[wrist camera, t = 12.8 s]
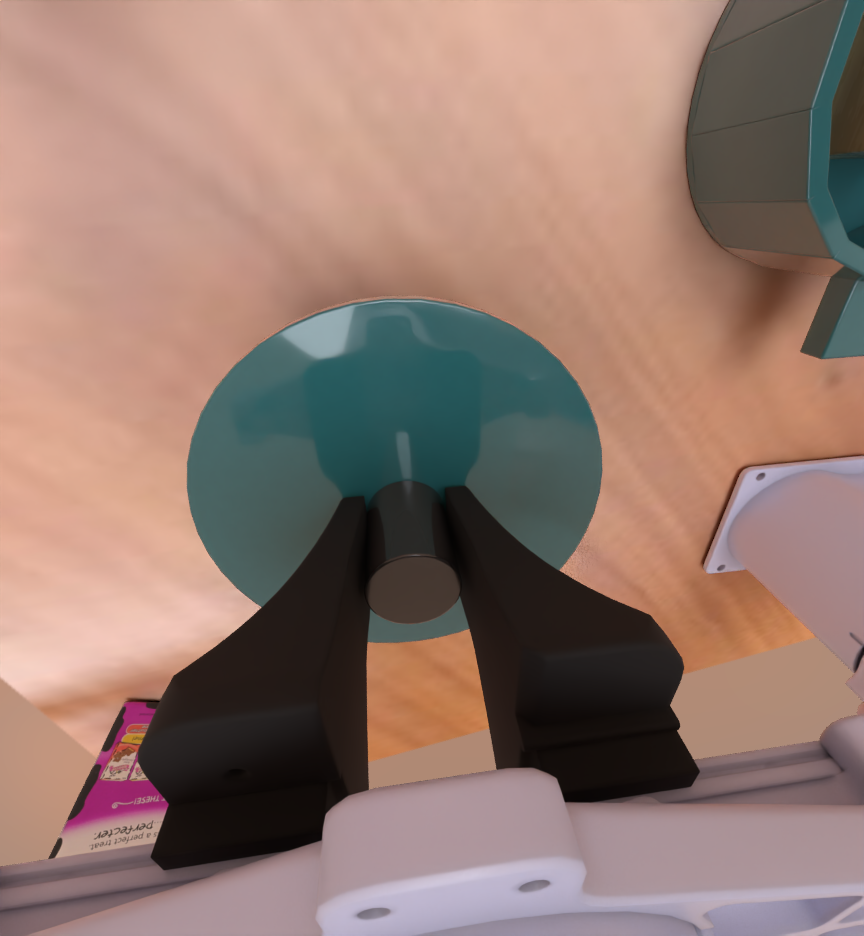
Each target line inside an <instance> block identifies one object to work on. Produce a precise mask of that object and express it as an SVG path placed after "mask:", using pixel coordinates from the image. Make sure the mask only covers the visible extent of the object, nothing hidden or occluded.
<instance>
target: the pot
mask: <svg viewBox="0 0 864 936" xmlns="http://www.w3.org/2000/svg"><path fill="white" fill-rule="evenodd" d="M863 13H864V0H730V2H729V3H728V5H727V7H726V9H725V11H724V12H723V14H722V17H721V19H720V21H719V23H718V25H717V28H716V30H715V32H714V34H713V37H712V39H711V41H710V43H709V46H708V49H707V52H706V55H705V57H704V60H703V63H702V66H701V69H700V72H699V75H698V79H697V83H696V87H695V91H694V94H693V98H692V104H691V110H690V116H689V122H688V132H687V146H686V155H687V174H688V180H689V186H690V192H691V195H692V199H693V202H694V205H695V209H696V211H697V213H698V215H699V217H700V219H701V221H702V223H703V225H704V227H705V228H706V229H707V231H708V232H709V234H710V235H711V236H712V238H713V239H714V240H715V241H716V242H717V243H718V244H719V245H720V246H721V247H723V248H724V249H725V250H727V251H728V252H730V253H732V254H733V255H735V256H737V257H739V258H742V259H744V260H747V261H750V262H754V263H756V264H757V265H759V266H763V267H769V268H775V269H782V270H789V271H795V272H802V273H809V274H815V275H822V276H829V277H831V278H830V280H829V283H828V285H827V288H826V290H825V293H824V295H823V297H822V300H821V302H820V305H819V307H818V309H817V312H816V314H815V317H814V319H813V321H812V324H811V326H810V329H809V331H808V333H807V336H806V338H805V341H804V343H803V345H802V348H801V350H800V352H801V353H804V354H807V355H810V356H813V357H816V358H819V359H831V358H844V357H857V356H864V158H855V159H829V157H830V139H831V122H832V104H833V99H834V96H835V94H836V91H837V88H838V85H839V82H840V79H841V76H842V73H843V71H844V68H845V65H846V62H847V59H848V56H849V53H850V50H851V48H852V45H853V42H854V39H855V36H856V33H857V30H858V28H859V25H860V22H861V19H862V16H863Z"/></svg>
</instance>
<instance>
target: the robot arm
mask: <svg viewBox="0 0 864 936" xmlns="http://www.w3.org/2000/svg"><path fill="white" fill-rule="evenodd" d="M445 500H446V515H447V519H448V523H449V528H450V532H451V536H452V540H453V545H454V549H455V553H456V558H457V562H458V566H459V570H460V575H461V579H462V590H461V594H460V599H461V602H462V605H463V609H464V612H465V616H466V619H467V622H468V626H469V629H470V632H471V636H472V640H473V644H474V648H475V653H476V658H477V664H478V669H479V674H480V679H481V685H482V690H483V695H484V701H485V706H486V711H487V717H488V723H489V728H490V734H491V739H492V745H493V751H494V757H495V763H496V769H497V770H492V771H485V772H479V773H472V774H465V775H459V776H453V777H446V778H439V779H433V780H425V781H419V782H412V783H406V784H400V785H393V786H385V787H379V788H374V789H370V790H369V782H368V741H367V670H366V660H367V642H368V631H369V620H370V607H369V606H368V604H367V602H366V600H365V596H364V576H365V547H366V529H367V511H366V504H365V498H364V496H356V497H346V498H343V499H342V500H341V501H340V503H339V505H338V507H337V509H336V511H335V512H334V514H333V516H332V518H331V520H330V521H329V523H328V525H327V526H326V528H325V530H324V531H323V533H322V534H321V536H320V537H319V539H318V541H317V542H316V544H315V545H314V547H313V548H312V549H311V551H310V552H309V554H308V555H307V556H306V558H305V559H304V560H303V562H302V563H301V564H300V566H299V567H298V568H297V570H296V571H295V572H294V573H293V574H292V576H291V577H290V578H289V579H288V580H287V581H286V583H285V584H284V585H283V586H282V587H281V588H280V589H279V590H278V592H277V593H276V594H275V595H274V596H273V597H272V598H271V599H270V600H269V601H268V602H267V603H266V604H265V605H264V606H263V607H262V608H261V609H260V610H258V611H257V612H256V613H255V614H254V615H253V616H252V617H251V618H250V619H249V620H248V621H246V622H245V623H244V624H243V625H242V626H241V627H239V628H238V629H237V630H236V631H235V632H233V633H232V634H231V635H230V636H228V637H227V638H226V639H225V640H223V641H222V642H221V643H219V644H218V645H217V646H216V647H214V648H213V649H212V650H210V651H209V652H207V653H206V654H204V655H203V656H202V657H200V658H199V659H197V660H196V661H195V662H193V663H192V664H190V665H189V666H188V667H186V668H185V669H183V670H182V671H180V672H179V673H177V674H176V675H174V676H173V678H172V680H171V682H170V684H169V686H168V687H167V689H166V691H165V693H164V694H163V696H162V698H161V700H160V702H159V704H158V706H157V708H156V711H155V713H154V715H153V717H152V720H151V722H150V724H149V727H148V729H147V731H146V734H145V736H144V738H143V740H142V743H141V745H140V747H139V750H138V760H137V762H138V764H139V765H140V767H141V769H142V771H143V773H144V775H145V776H146V777H147V778H148V780H149V781H150V782H151V783H152V784H153V786H154V787H155V788H156V789H157V791H158V792H159V793H160V794H161V795H162V797H163V798H164V799H165V800H166V801H167V803H168V804H169V805H168V807H167V810H166V813H165V816H164V819H163V822H162V825H161V828H160V830H159V833H158V836H157V839H156V842H155V843H150V844H143V845H137V846H130V847H124V848H117V849H111V850H104V851H98V852H91V853H85V854H78V855H72V856H65V857H59V858H52V859H46V860H39V861H33V862H27V863H20V864H14V865H7V866H1V867H0V936H864V456H854V457H844V458H834V459H823V460H813V461H803V462H793V463H783V464H773V465H763V466H752V467H748V468H746V469H744V470H743V471H742V472H741V473H740V475H739V478H738V480H737V483H736V485H735V488H734V490H733V493H732V495H731V498H730V500H729V503H728V505H727V508H726V510H725V513H724V515H723V518H722V520H721V523H720V525H719V528H718V530H717V533H716V535H715V538H714V540H713V542H712V545H711V547H710V550H709V552H708V555H707V557H706V560H705V562H704V565H703V569H704V570H705V571H706V572H707V573H708V574H713V573H722V572H730V571H739V570H748V571H749V572H750V573H751V574H752V575H753V576H754V577H755V578H756V579H757V580H758V581H759V582H760V583H761V584H762V585H763V586H764V587H765V588H766V589H767V590H768V591H770V592H771V593H772V594H773V595H774V596H775V597H776V598H777V599H778V600H779V601H780V602H781V603H782V604H783V605H784V606H785V607H786V608H787V609H788V610H789V611H790V612H791V613H792V614H793V615H794V616H795V617H796V618H797V619H798V620H799V621H800V622H802V623H803V624H804V625H805V626H806V627H807V628H808V629H809V630H810V631H811V632H812V633H813V634H814V635H815V636H816V637H817V638H818V639H819V640H820V641H821V642H822V643H823V644H824V645H825V646H826V647H827V648H828V649H829V650H830V651H831V652H833V653H834V654H835V655H836V656H837V657H838V658H839V659H840V660H841V661H842V662H843V663H844V664H845V665H846V666H847V667H848V668H849V669H850V670H851V671H852V672H853V673H854V675H853V676H852V677H851V678H849V679H848V680H847V681H846V683H845V684H846V685H847V686H848V687H849V688H850V689H851V690H852V691H853V692H854V693H855V694H856V695H857V696H858V697H859V698H860V699H861V700H862V701H863V702H862V703H861V704H860V705H859V707H858V711H857V714H858V715H854V716H849V717H845V718H841V719H839V720H837V721H835V722H833V723H831V724H830V725H829V726H828V727H827V728H826V729H825V730H824V731H823V733H822V734H821V736H820V740H819V741H813V742H807V743H800V744H793V745H787V746H780V747H774V748H768V749H762V750H754V751H748V752H742V753H735V754H728V755H722V756H716V757H709V758H703V759H696V760H693V759H692V756H691V754H690V753H689V751H688V749H687V748H686V746H685V744H684V742H683V741H682V739H681V737H680V735H679V734H678V732H677V730H678V729H679V728H680V723H679V720H678V718H677V717H676V715H675V713H674V712H673V710H672V708H671V707H670V704H671V702H672V699H673V697H674V695H675V693H676V690H677V688H678V686H679V684H680V681H681V678H682V674H683V670H684V664H683V660H682V657H681V656H680V654H679V653H678V651H677V650H676V648H675V647H674V645H673V644H672V642H671V641H670V640H669V638H668V637H667V635H666V634H665V633H664V631H663V630H662V629H661V628H660V627H659V625H658V624H657V623H656V622H655V620H654V619H653V618H652V617H651V615H649V614H646V613H644V612H642V611H639V610H637V609H634V608H632V607H630V606H627V605H625V604H622V603H620V602H618V601H615V600H613V599H611V598H609V597H606V596H604V595H602V594H600V593H598V592H596V591H594V590H592V589H590V588H588V587H587V586H585V585H583V584H581V583H579V582H577V581H576V580H574V579H572V578H571V577H569V576H567V575H566V574H564V573H562V572H561V571H559V570H557V569H556V568H554V567H553V566H551V565H550V564H548V563H547V562H545V561H544V560H542V559H541V558H540V557H538V556H537V555H536V554H534V553H533V552H532V551H530V550H529V549H528V548H527V547H525V546H524V545H523V544H522V543H521V542H519V541H518V540H517V539H516V538H515V537H514V536H513V535H511V534H510V533H509V532H508V531H507V530H506V529H505V528H504V527H503V526H502V525H501V524H500V523H499V522H498V521H497V520H496V519H495V518H494V517H493V516H492V515H491V514H490V513H489V512H488V511H487V510H486V508H485V507H484V506H483V505H482V504H481V503H480V502H479V500H478V499H477V498H476V497H475V496H474V494H473V493H472V492H471V491H470V489H469V488H468V487H466V486H457V487H447V488H445Z"/></svg>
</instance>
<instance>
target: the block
mask: <svg viewBox="0 0 864 936" xmlns="http://www.w3.org/2000/svg"><path fill="white" fill-rule="evenodd" d="M855 158H864V13H863V16H862V19H861V22H860V25H859V28H858V30H857V33H856V36H855V39H854V42H853V45H852V48H851V50H850V53H849V56H848V59H847V62H846V65H845V68H844V71H843V73H842V76H841V79H840V82H839V85H838V88H837V91H836V94H835V96H834V99H833V104H832V122H831V139H830V157H829V159H855Z"/></svg>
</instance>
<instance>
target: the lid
mask: <svg viewBox="0 0 864 936" xmlns="http://www.w3.org/2000/svg"><path fill="white" fill-rule="evenodd" d="M601 477H602V448H601V443H600V437H599V432H598V427H597V424H596V421H595V418H594V415H593V413H592V410H591V407H590V404H589V402H588V400H587V399H586V397H585V395H584V393H583V392H582V390H581V388H580V386H579V385H578V383H577V381H576V380H575V379H574V377H573V376H572V375H571V374H570V372H569V371H568V370H567V369H566V367H565V366H564V365H563V364H562V363H561V361H560V360H559V359H558V358H556V357H555V356H554V355H553V354H552V353H551V352H550V351H549V350H548V349H547V348H545V347H544V346H543V345H542V344H541V343H540V342H539V341H537V340H536V339H535V338H534V337H532V336H531V335H529V334H527V333H526V332H524V331H523V330H521V329H520V328H518V327H517V326H515V325H514V324H512V323H511V322H509V321H507V320H504V319H502V318H500V317H498V316H496V315H493V314H491V313H489V312H487V311H485V310H483V309H479V308H476V307H472V306H469V305H466V304H462V303H459V302H455V301H452V300H445V299H438V298H432V297H425V296H379V297H371V298H364V299H356V300H351V301H347V302H343V303H340V304H336V305H333V306H329V307H326V308H322V309H319V310H317V311H314V312H312V313H310V314H308V315H305V316H303V317H301V318H299V319H296V320H294V321H292V322H290V323H288V324H286V325H285V326H283V327H282V328H280V329H278V330H277V331H275V332H274V333H272V334H271V335H269V336H267V337H266V338H264V339H263V340H261V341H260V342H259V343H258V344H257V345H256V346H255V347H253V348H252V349H251V350H250V351H249V352H248V353H247V354H245V355H244V356H243V357H242V358H241V359H240V360H239V361H238V362H237V363H236V364H235V365H234V366H233V367H232V369H231V370H230V371H229V372H228V373H227V375H226V376H225V377H224V378H223V379H222V381H221V382H220V383H219V384H218V386H217V387H216V388H215V390H214V391H213V393H212V395H211V396H210V398H209V400H208V402H207V403H206V405H205V407H204V408H203V410H202V412H201V414H200V417H199V420H198V422H197V425H196V428H195V430H194V433H193V436H192V439H191V444H190V450H189V455H188V461H187V492H188V498H189V504H190V510H191V514H192V517H193V520H194V523H195V526H196V529H197V532H198V535H199V536H200V538H201V540H202V542H203V544H204V546H205V548H206V550H207V552H208V554H209V555H210V557H211V558H212V559H213V561H214V562H215V564H216V565H217V566H218V568H219V569H220V570H221V572H222V573H223V574H224V575H225V576H226V577H227V578H228V579H229V580H230V581H231V582H232V584H233V585H234V586H235V587H236V588H237V589H239V590H240V591H241V592H242V593H243V594H245V595H246V596H247V597H248V598H249V599H251V600H252V601H253V602H255V603H256V604H258V605H259V606H261V607H263V606H264V605H265V604H266V603H267V602H268V601H269V600H270V599H271V598H272V597H273V596H274V595H275V594H276V593H277V592H278V590H279V589H280V588H281V587H282V586H283V585H284V584H285V583H286V581H287V580H288V579H289V578H290V577H291V576H292V574H293V573H294V572H295V571H296V570H297V568H298V567H299V566H300V564H301V563H302V562H303V560H304V559H305V558H306V556H307V555H308V554H309V552H310V551H311V549H312V548H313V547H314V545H315V544H316V542H317V541H318V539H319V537H320V536H321V534H322V533H323V531H324V530H325V528H326V526H327V525H328V523H329V521H330V520H331V518H332V516H333V514H334V512H335V511H336V509H337V507H338V505H339V503H340V501H341V500H342V499H343V498H346V497H356V496H364V498H365V504H366V511H367V529H366V547H365V576H364V596H365V600H366V602H367V604H368V606H369V607H370V620H369V631H368V642H373V643H400V642H412V641H421V640H427V639H433V638H439V637H443V636H447V635H450V634H454V633H458V632H461V631H464V630H467V629H469V626H468V622H467V619H466V616H465V612H464V609H463V605H462V602H461V599H460V594H461V590H462V579H461V575H460V570H459V566H458V562H457V558H456V553H455V549H454V545H453V540H452V536H451V532H450V528H449V523H448V519H447V515H446V500H445V488H447V487H457V486H466V487H468V488H469V489H470V491H471V492H472V493H473V494H474V496H475V497H476V498H477V499H478V500H479V502H480V503H481V504H482V505H483V506H484V507H485V508H486V510H487V511H488V512H489V513H490V514H491V515H492V516H493V517H494V518H495V519H496V520H497V521H498V522H499V523H500V524H501V525H502V526H503V527H504V528H505V529H506V530H507V531H508V532H509V533H510V534H511V535H513V536H514V537H515V538H516V539H517V540H518V541H519V542H521V543H522V544H523V545H524V546H525V547H527V548H528V549H529V550H530V551H532V552H533V553H534V554H536V555H537V556H538V557H540V558H541V559H542V560H544V561H545V562H547V563H548V564H550V565H551V566H553V567H554V568H556V569H557V570H560V569H561V568H562V567H563V566H564V564H565V563H566V562H567V560H568V559H569V558H570V556H571V555H572V554H573V552H574V551H575V550H576V548H577V546H578V545H579V543H580V541H581V540H582V538H583V536H584V534H585V533H586V531H587V528H588V526H589V524H590V521H591V519H592V517H593V514H594V511H595V508H596V504H597V500H598V497H599V493H600V486H601Z"/></svg>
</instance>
